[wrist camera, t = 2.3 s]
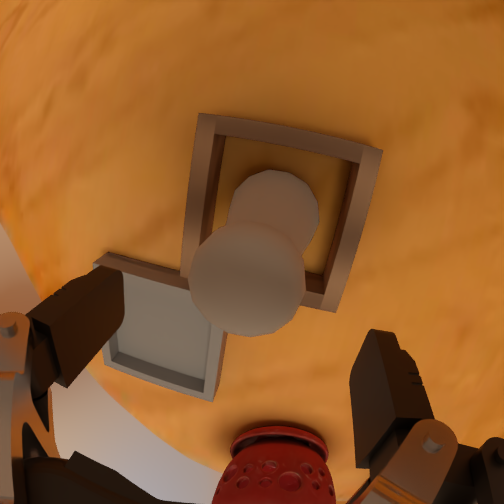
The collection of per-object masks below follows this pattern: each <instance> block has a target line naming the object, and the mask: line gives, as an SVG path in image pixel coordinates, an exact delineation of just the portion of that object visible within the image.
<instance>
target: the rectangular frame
mask: <svg viewBox="0 0 504 504" xmlns="http://www.w3.org/2000/svg"><path fill="white" fill-rule="evenodd" d="M226 136H232V137H238V138H244V139H250V140H256V141H261V142H267V143H272V144H277V145H282V146H287V147H292V148H297V149H301V150H306V151H311V152H315V153H319V154H324V155H328V156H332V157H336V158H340V159H344V160H348V161H352V162H353V163H352V167H351V171H350V176H349V180H348V184H347V188H346V192H345V196H344V200H343V204H342V208H341V212H340V216H339V220H338V224H337V228H336V231H335V235H334V239H333V242H332V246H331V250H330V253H329V257H328V260H327V264H326V267H325V270H324V274H323V276H321V275H317V274H312V273H308V272H305V285H306V292H305V294H304V297H303V299H302V301H301V303H300V305H301V306H306V307H310V308H315V309H320V310H324V311H329V312H334V313H336V311H337V308H338V305H339V303H340V300H341V297H342V294H343V291H344V288H345V285H346V282H347V279H348V276H349V273H350V270H351V267H352V264H353V261H354V257H355V254H356V251H357V248H358V244H359V241H360V238H361V234H362V231H363V227H364V224H365V220H366V217H367V213H368V209H369V206H370V202H371V198H372V194H373V190H374V187H375V183H376V179H377V174H378V170H379V166H380V162H381V157H382V153H383V150H381V149H378V148H374V147H371V146H367V145H364V144H360V143H356V142H353V141H349V140H345V139H341V138H337V137H333V136H329V135H325V134H320V133H316V132H311V131H307V130H302V129H297V128H293V127H288V126H282V125H277V124H272V123H266V122H260V121H254V120H248V119H242V118H235V117H228V116H220V115H213V114H204V113H199V115H198V121H197V128H196V134H195V141H194V148H193V155H192V162H191V170H190V178H189V186H188V194H187V203H186V212H185V222H184V232H183V243H182V254H181V266H180V276H181V277H184V278H188V276H189V272H190V268H191V264H192V260H193V257H194V254H195V252H196V249H197V248H198V247H199V246H200V245H201V244H202V243H203V242H204V241H205V240H206V239H207V238H208V237H209V236H210V235H211V232H212V225H213V217H214V210H215V203H216V196H217V189H218V183H219V176H220V169H221V163H222V156H223V150H224V144H225V138H226Z"/></svg>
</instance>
